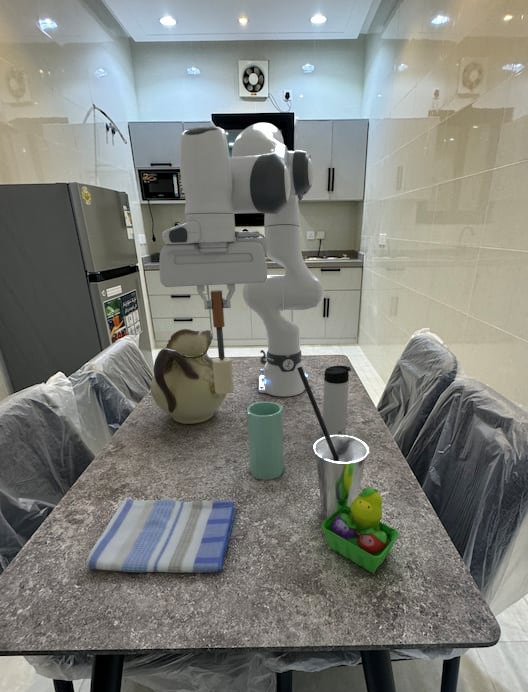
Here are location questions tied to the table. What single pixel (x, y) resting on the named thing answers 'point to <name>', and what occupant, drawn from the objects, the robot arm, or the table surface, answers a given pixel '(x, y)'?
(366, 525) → the fruit basket
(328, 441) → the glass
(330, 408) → the travel mug
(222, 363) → the bottle brush
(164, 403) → the pitcher
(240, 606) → the table surface
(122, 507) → the dish towel
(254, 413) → the vase
